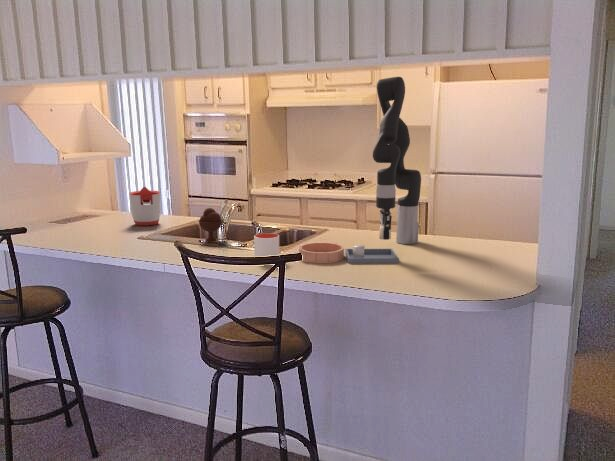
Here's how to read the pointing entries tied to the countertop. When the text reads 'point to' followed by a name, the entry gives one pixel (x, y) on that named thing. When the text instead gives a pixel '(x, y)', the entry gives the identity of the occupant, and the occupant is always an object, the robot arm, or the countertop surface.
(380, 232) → the sandstone pebble
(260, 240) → the cup
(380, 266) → the countertop surface
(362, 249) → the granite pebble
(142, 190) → the citrus juicer
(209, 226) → the ice cream bowl
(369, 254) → the parts tray
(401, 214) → the robot arm
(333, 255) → the terracotta bowl
